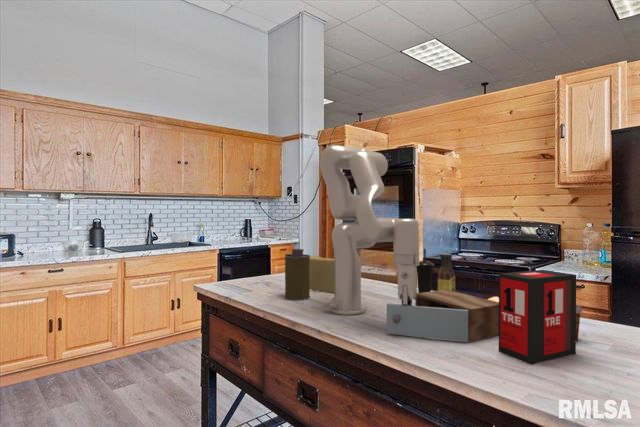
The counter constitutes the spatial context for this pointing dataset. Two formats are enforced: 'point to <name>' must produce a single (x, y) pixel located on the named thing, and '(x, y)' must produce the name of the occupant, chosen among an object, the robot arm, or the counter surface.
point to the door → (427, 322)
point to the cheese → (321, 274)
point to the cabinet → (479, 310)
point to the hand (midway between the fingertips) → (406, 321)
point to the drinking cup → (424, 275)
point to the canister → (297, 275)
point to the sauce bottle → (446, 274)
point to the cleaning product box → (537, 315)
